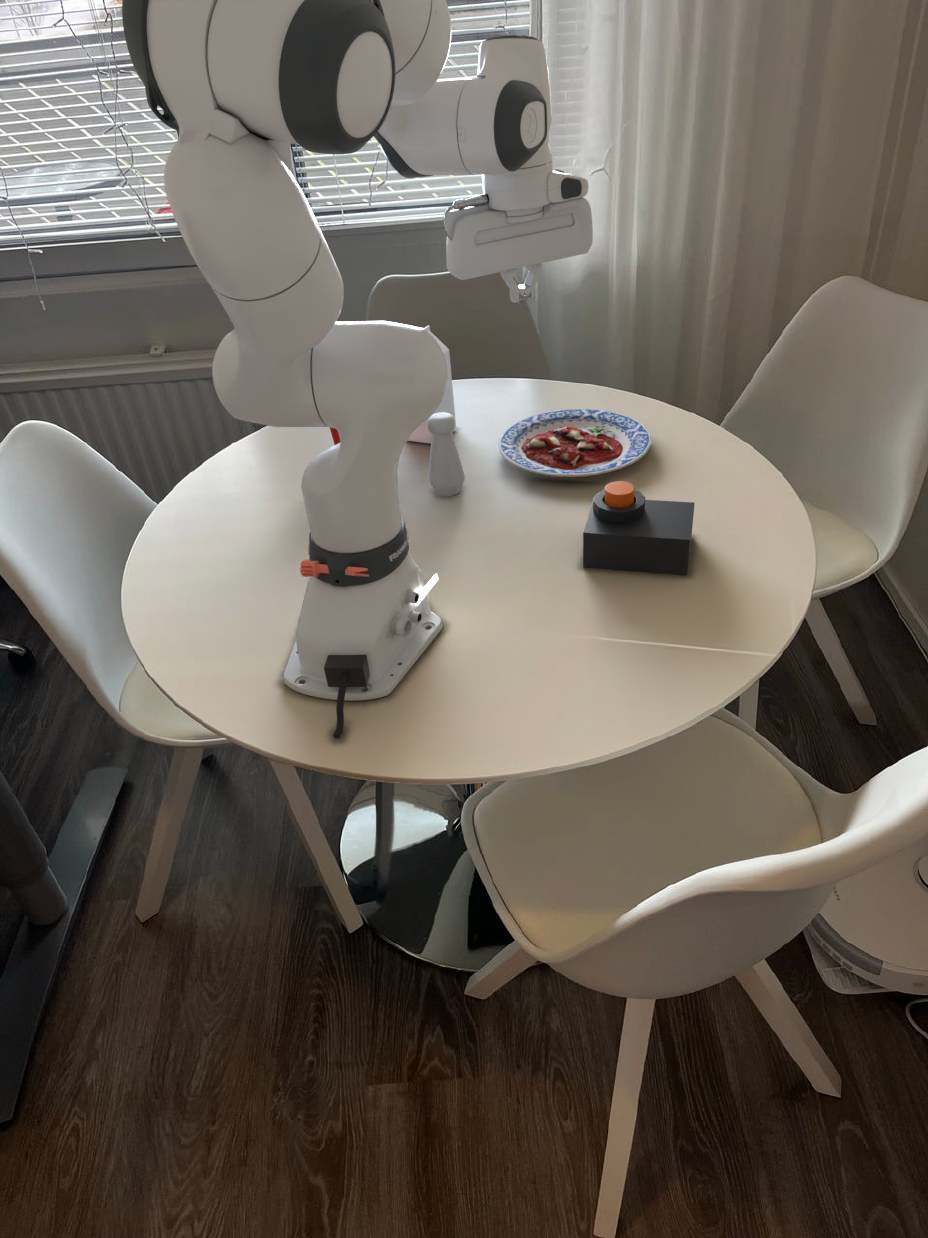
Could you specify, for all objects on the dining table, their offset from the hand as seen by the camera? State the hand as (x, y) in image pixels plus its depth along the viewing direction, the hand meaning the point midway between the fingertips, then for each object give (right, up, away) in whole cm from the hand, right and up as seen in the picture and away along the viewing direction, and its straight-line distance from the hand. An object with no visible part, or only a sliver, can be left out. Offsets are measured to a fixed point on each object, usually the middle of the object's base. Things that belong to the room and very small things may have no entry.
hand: (522, 299), depth 118 cm
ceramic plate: (+11, -15, +31) cm, 36 cm away
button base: (+17, -34, +4) cm, 38 cm away
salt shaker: (-10, -22, +24) cm, 34 cm away
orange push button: (+14, -27, +2) cm, 30 cm away
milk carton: (-14, -10, +41) cm, 45 cm away
